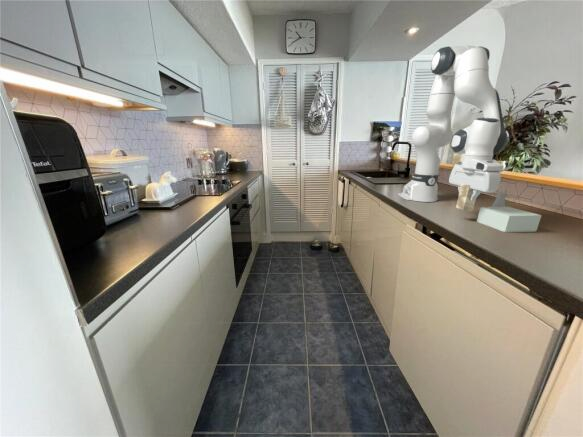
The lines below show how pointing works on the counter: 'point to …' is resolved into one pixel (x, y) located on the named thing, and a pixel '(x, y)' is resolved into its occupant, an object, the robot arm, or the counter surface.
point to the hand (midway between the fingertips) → (466, 199)
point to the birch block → (465, 198)
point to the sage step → (509, 219)
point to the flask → (499, 200)
